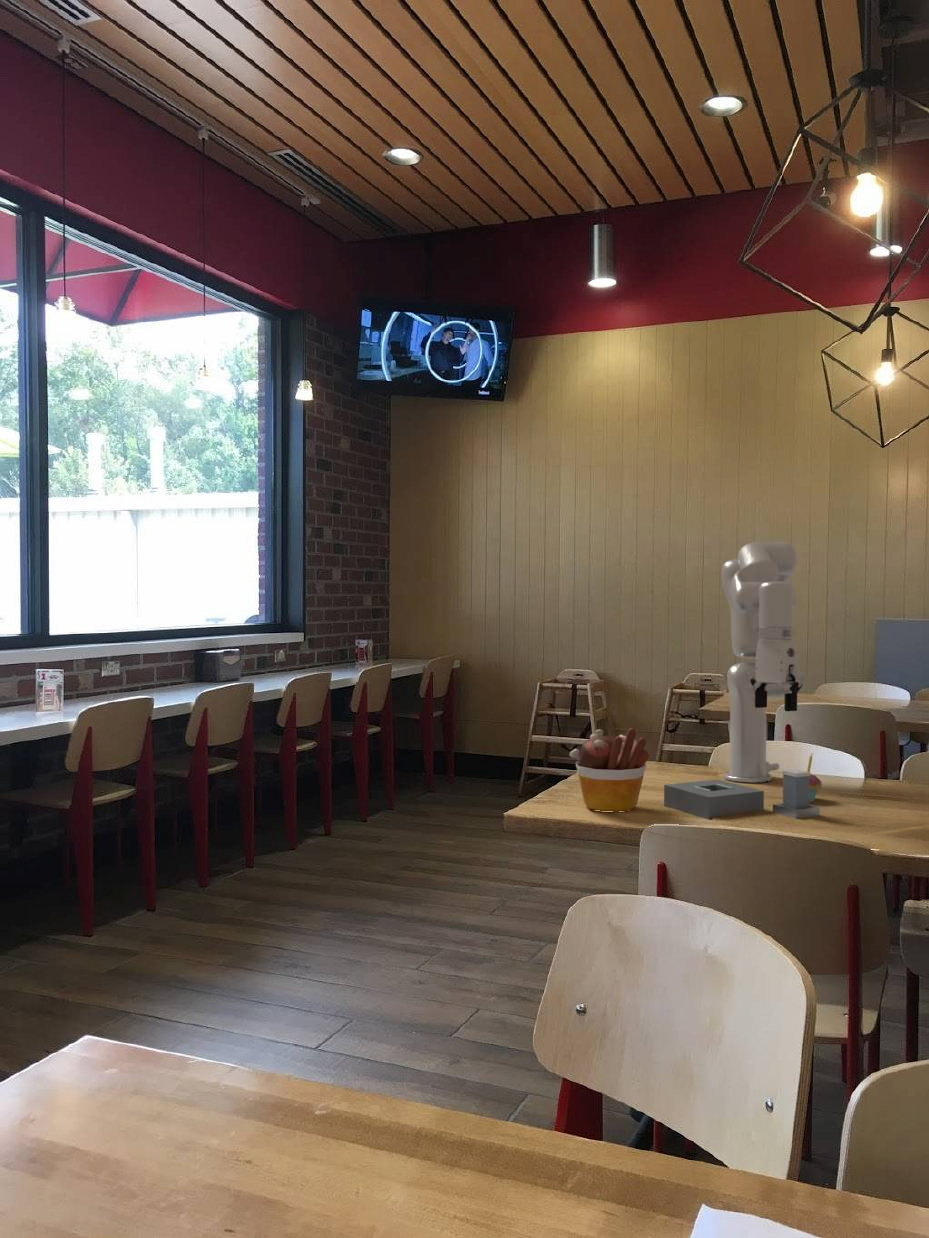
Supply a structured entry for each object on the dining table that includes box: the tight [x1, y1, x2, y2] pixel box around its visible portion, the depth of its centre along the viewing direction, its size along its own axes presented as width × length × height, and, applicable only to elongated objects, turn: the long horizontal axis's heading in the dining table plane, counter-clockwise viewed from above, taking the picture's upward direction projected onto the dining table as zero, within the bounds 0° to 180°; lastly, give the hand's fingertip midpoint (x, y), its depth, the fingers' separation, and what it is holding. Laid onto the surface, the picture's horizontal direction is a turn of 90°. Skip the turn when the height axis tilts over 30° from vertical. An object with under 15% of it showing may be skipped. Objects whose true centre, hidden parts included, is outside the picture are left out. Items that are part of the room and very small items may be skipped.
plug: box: [782, 768, 811, 809], centre depth 226 cm, size 4×4×10 cm
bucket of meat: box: [569, 727, 650, 812], centre depth 234 cm, size 20×16×20 cm
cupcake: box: [806, 753, 823, 803], centre depth 241 cm, size 9×8×12 cm
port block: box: [663, 779, 765, 820], centre depth 233 cm, size 16×16×5 cm
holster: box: [772, 802, 821, 819], centre depth 226 cm, size 7×7×2 cm
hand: (775, 709), depth 230 cm, fingers open, 9 cm apart
